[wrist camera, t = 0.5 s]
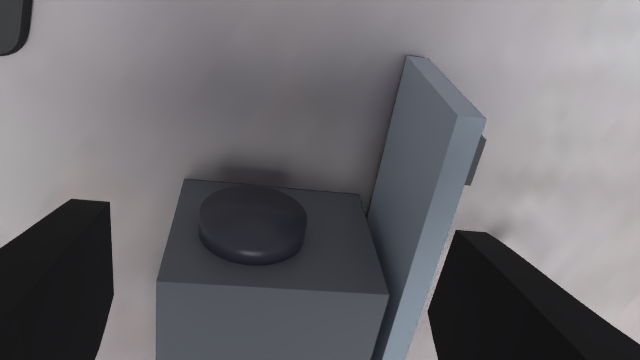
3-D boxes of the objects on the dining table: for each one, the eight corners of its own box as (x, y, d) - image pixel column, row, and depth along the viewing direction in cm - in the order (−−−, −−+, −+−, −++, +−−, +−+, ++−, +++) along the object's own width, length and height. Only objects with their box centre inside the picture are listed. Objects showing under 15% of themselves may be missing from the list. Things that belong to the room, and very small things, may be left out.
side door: (365, 359, 26) (391, 477, 21) (327, 357, 26) (343, 476, 21) (452, 59, 19) (524, 126, 13) (399, 52, 18) (453, 117, 13)
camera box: (323, 349, 25) (340, 483, 20) (178, 343, 24) (151, 483, 19) (362, 177, 21) (399, 288, 15) (184, 161, 20) (152, 273, 14)
